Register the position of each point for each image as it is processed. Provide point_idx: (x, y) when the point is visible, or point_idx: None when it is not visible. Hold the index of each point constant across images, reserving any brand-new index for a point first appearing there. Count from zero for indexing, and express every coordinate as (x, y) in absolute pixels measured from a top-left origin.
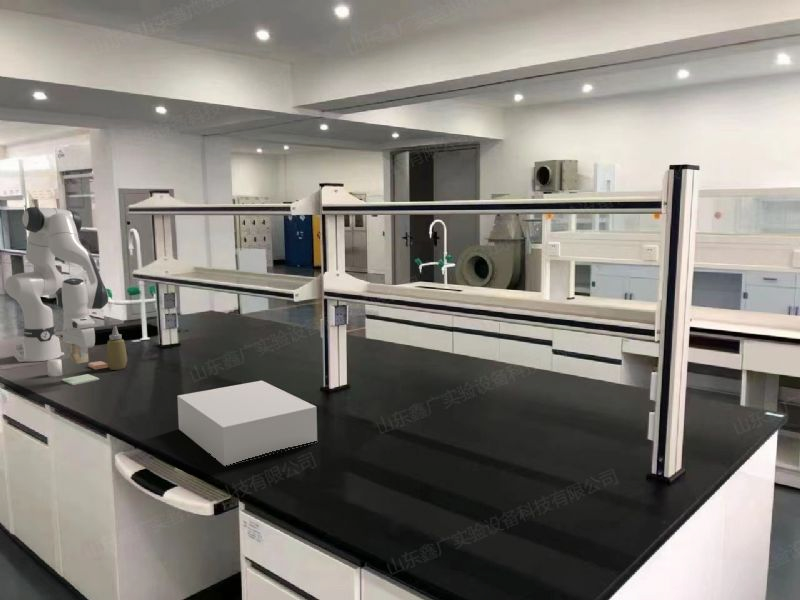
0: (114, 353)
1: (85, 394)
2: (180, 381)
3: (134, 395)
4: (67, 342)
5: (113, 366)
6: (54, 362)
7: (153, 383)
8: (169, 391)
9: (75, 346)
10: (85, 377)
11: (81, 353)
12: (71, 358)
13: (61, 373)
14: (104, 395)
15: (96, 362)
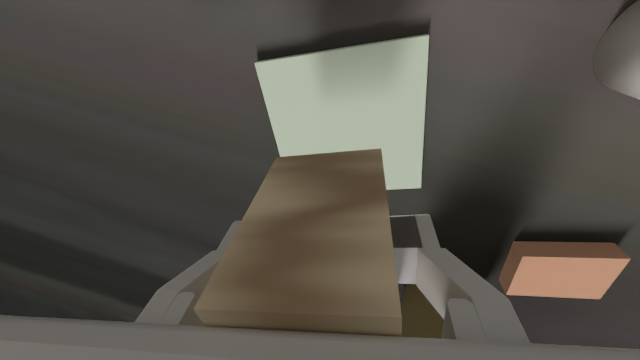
0: None
1: (39, 60)
2: (144, 306)
3: (7, 192)
4: (621, 356)
5: (417, 287)
6: None
7: (146, 270)
8: (44, 260)
9: (197, 302)
10: None
11: (219, 251)
12: (377, 167)
13: (605, 81)
14: (13, 121)
15: (590, 281)
